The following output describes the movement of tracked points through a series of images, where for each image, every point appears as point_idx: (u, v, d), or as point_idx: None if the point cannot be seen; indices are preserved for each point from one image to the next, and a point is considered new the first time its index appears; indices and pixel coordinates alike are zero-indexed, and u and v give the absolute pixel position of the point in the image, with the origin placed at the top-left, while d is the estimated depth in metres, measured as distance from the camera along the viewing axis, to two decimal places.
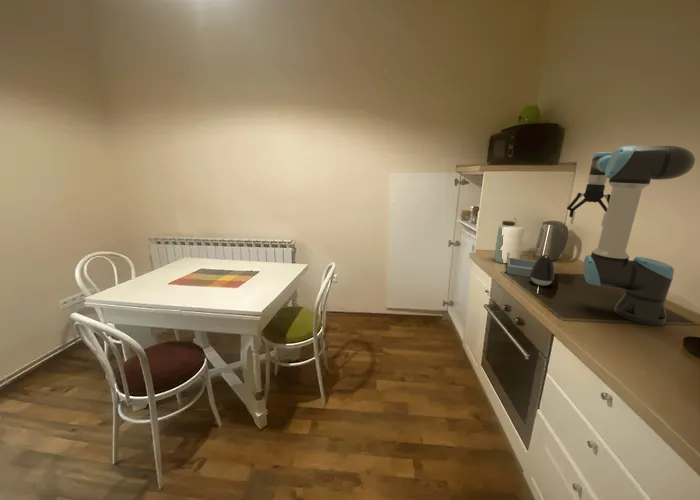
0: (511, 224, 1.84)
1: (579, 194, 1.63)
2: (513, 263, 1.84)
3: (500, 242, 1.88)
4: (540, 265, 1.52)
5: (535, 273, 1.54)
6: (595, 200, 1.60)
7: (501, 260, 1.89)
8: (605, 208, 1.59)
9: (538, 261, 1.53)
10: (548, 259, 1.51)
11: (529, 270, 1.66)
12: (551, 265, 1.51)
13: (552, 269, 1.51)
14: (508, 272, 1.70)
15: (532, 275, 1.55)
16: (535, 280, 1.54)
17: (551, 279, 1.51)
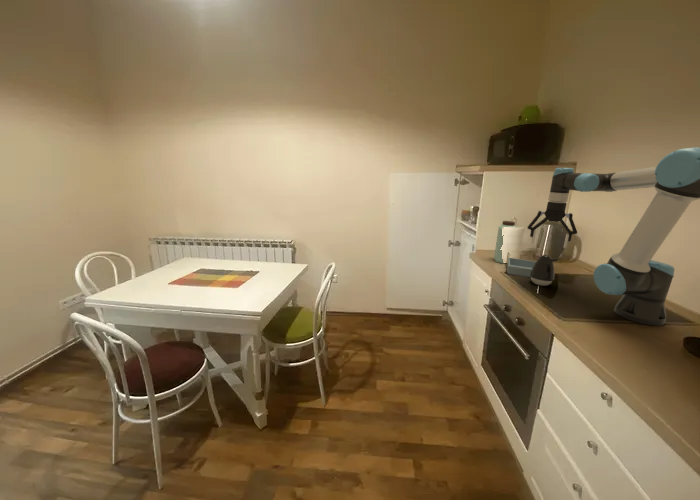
0: (511, 224, 1.84)
1: (539, 212, 1.49)
2: (513, 263, 1.84)
3: (500, 242, 1.88)
4: (540, 265, 1.52)
5: (535, 273, 1.54)
6: (556, 219, 1.47)
7: (501, 260, 1.89)
8: (567, 228, 1.46)
9: (538, 261, 1.53)
10: (548, 259, 1.51)
11: (529, 270, 1.66)
12: (551, 265, 1.51)
13: (552, 269, 1.51)
14: (508, 272, 1.70)
15: (532, 275, 1.55)
16: (535, 280, 1.54)
17: (551, 279, 1.51)
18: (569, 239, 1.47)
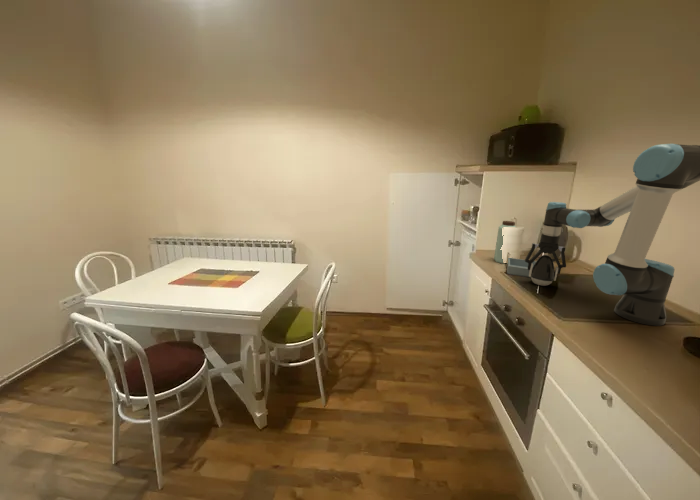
0: (511, 224, 1.84)
1: (533, 245, 1.53)
2: (513, 263, 1.84)
3: (500, 242, 1.88)
4: (540, 265, 1.52)
5: (535, 273, 1.54)
6: (550, 251, 1.51)
7: (501, 260, 1.89)
8: (557, 261, 1.50)
9: (538, 261, 1.53)
10: (548, 259, 1.51)
11: (529, 270, 1.66)
12: (551, 265, 1.50)
13: (552, 269, 1.51)
14: (508, 272, 1.70)
15: (532, 275, 1.55)
16: (535, 280, 1.54)
17: (551, 279, 1.51)
18: (558, 272, 1.52)
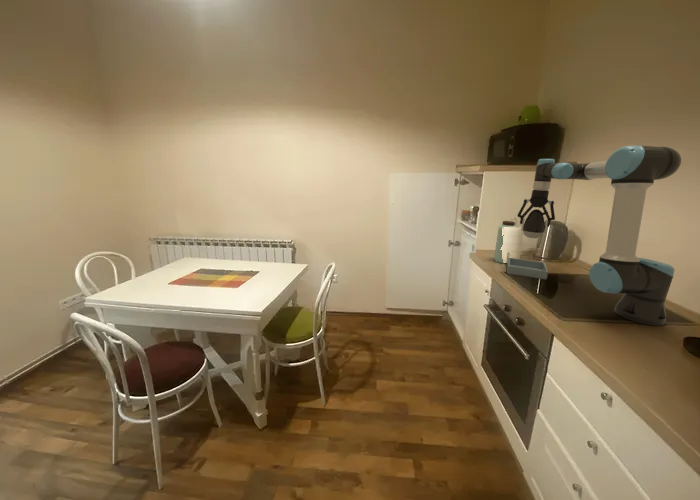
0: (511, 224, 1.84)
1: (525, 200, 1.66)
2: (513, 263, 1.84)
3: (500, 242, 1.88)
4: (531, 218, 1.65)
5: (527, 226, 1.67)
6: (540, 205, 1.64)
7: (501, 260, 1.89)
8: (547, 214, 1.63)
9: (529, 215, 1.66)
10: (538, 212, 1.64)
11: (529, 270, 1.66)
12: (541, 218, 1.63)
13: (542, 221, 1.64)
14: (508, 272, 1.70)
15: (524, 228, 1.68)
16: (527, 233, 1.67)
17: (541, 231, 1.64)
18: (548, 225, 1.64)
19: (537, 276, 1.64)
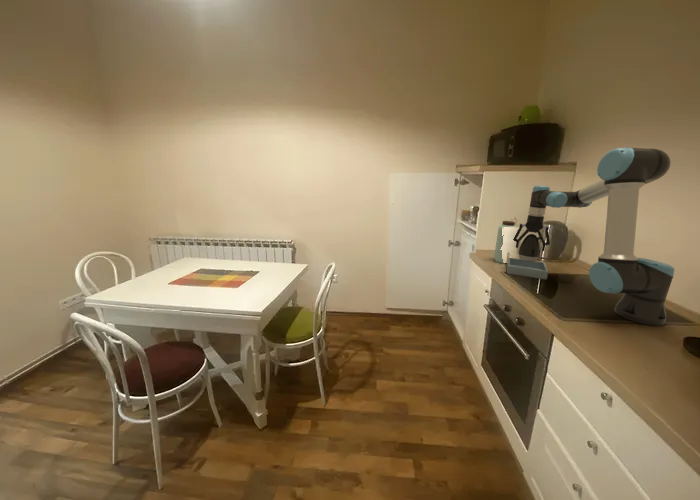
0: (511, 224, 1.84)
1: (521, 225, 1.70)
2: (513, 263, 1.84)
3: (500, 242, 1.88)
4: (526, 243, 1.69)
5: (522, 250, 1.70)
6: (535, 230, 1.67)
7: (501, 260, 1.89)
8: (542, 239, 1.67)
9: (525, 239, 1.70)
10: (533, 237, 1.67)
11: (529, 270, 1.66)
12: (536, 243, 1.67)
13: (537, 246, 1.67)
14: (508, 272, 1.70)
15: (520, 252, 1.72)
16: (522, 257, 1.71)
17: (536, 255, 1.68)
18: (543, 249, 1.68)
19: (537, 276, 1.64)
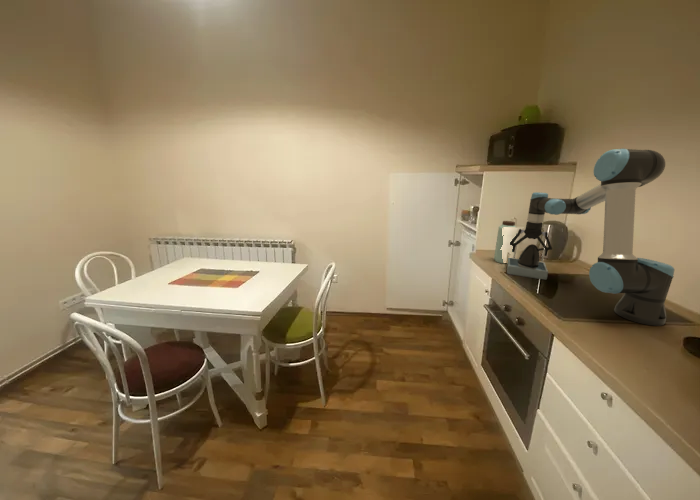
0: (511, 224, 1.84)
1: (520, 231, 1.70)
2: (513, 263, 1.84)
3: (500, 242, 1.88)
4: (527, 253, 1.69)
5: (522, 260, 1.71)
6: (534, 237, 1.68)
7: (501, 260, 1.89)
8: (543, 245, 1.67)
9: (526, 249, 1.71)
10: (535, 248, 1.68)
11: (529, 270, 1.66)
12: (537, 254, 1.68)
13: (537, 257, 1.68)
14: (508, 272, 1.70)
15: (519, 261, 1.73)
16: (521, 266, 1.72)
17: (535, 266, 1.69)
18: (545, 254, 1.68)
19: (537, 276, 1.64)
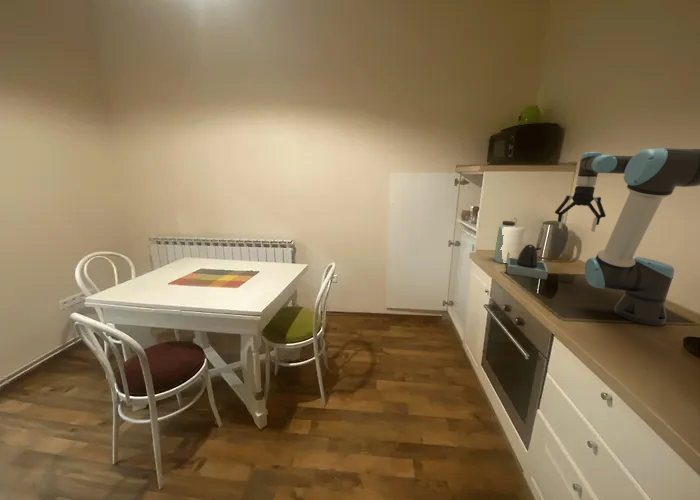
0: (511, 224, 1.84)
1: (568, 197, 1.52)
2: (513, 263, 1.84)
3: (500, 242, 1.88)
4: (525, 253, 1.70)
5: (521, 261, 1.71)
6: (584, 203, 1.50)
7: (501, 260, 1.89)
8: (595, 212, 1.48)
9: (523, 250, 1.71)
10: (532, 248, 1.69)
11: (529, 270, 1.66)
12: (535, 253, 1.68)
13: (536, 257, 1.69)
14: (508, 272, 1.70)
15: (518, 263, 1.73)
16: (521, 267, 1.72)
17: (535, 266, 1.69)
18: (597, 222, 1.49)
19: (537, 276, 1.64)
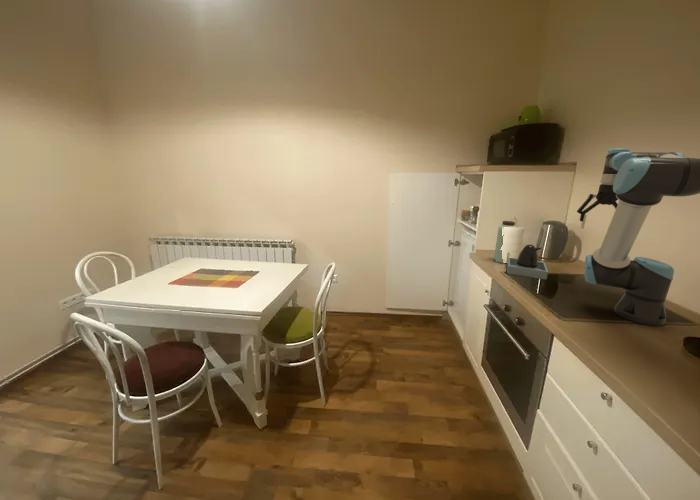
0: (511, 224, 1.84)
1: (591, 196, 1.45)
2: (513, 263, 1.84)
3: (500, 242, 1.88)
4: (525, 253, 1.70)
5: (521, 261, 1.71)
6: (609, 202, 1.43)
7: (501, 260, 1.89)
8: None
9: (523, 250, 1.71)
10: (532, 248, 1.69)
11: (529, 270, 1.66)
12: (535, 253, 1.68)
13: (536, 257, 1.69)
14: (508, 272, 1.70)
15: (518, 263, 1.73)
16: (521, 267, 1.72)
17: (535, 266, 1.69)
18: None
19: (537, 276, 1.64)
